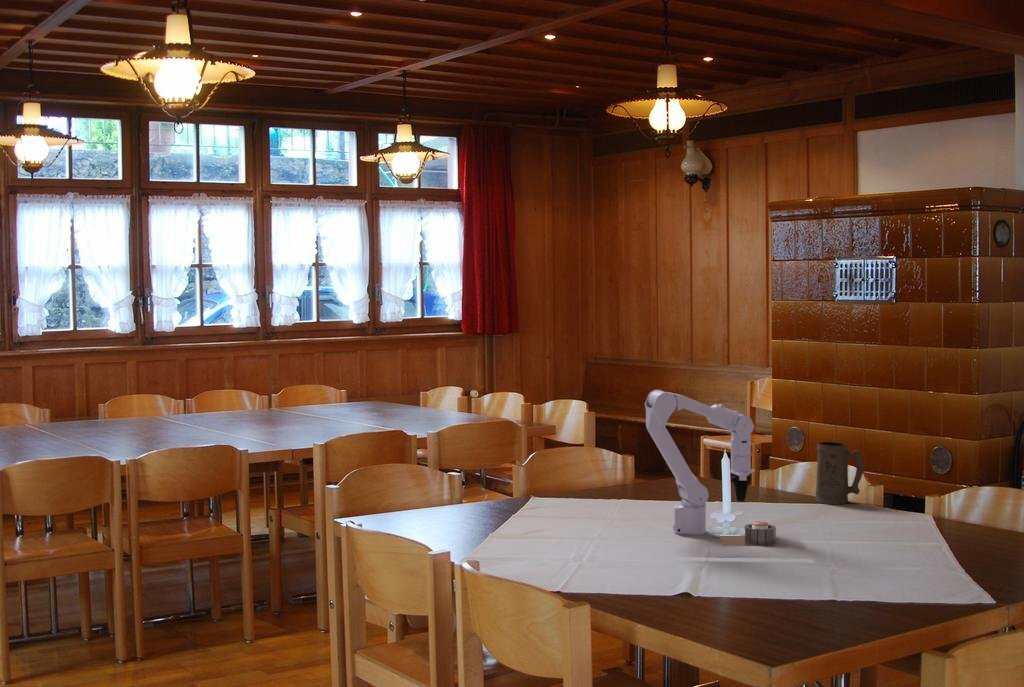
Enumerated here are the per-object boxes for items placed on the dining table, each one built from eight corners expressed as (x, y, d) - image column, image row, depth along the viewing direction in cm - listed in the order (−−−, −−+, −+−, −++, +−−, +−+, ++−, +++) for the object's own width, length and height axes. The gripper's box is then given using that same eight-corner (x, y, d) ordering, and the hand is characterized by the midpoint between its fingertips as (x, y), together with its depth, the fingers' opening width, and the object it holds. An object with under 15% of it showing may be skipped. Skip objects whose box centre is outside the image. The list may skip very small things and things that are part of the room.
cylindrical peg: (752, 542, 325) (753, 524, 325) (751, 538, 329) (751, 521, 329) (768, 542, 325) (769, 524, 324) (767, 539, 329) (767, 521, 329)
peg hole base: (722, 549, 322) (722, 531, 321) (718, 538, 335) (718, 521, 334) (778, 549, 320) (778, 531, 320) (772, 539, 333) (772, 522, 333)
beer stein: (811, 503, 386) (816, 443, 384) (813, 497, 396) (817, 439, 394) (860, 508, 381) (864, 448, 380) (860, 502, 391) (864, 444, 390)
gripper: (757, 458, 333) (757, 505, 334) (752, 451, 348) (751, 496, 349) (732, 458, 334) (732, 505, 335) (728, 451, 349) (728, 496, 349)
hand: (740, 501), depth 342 cm, fingers closed
